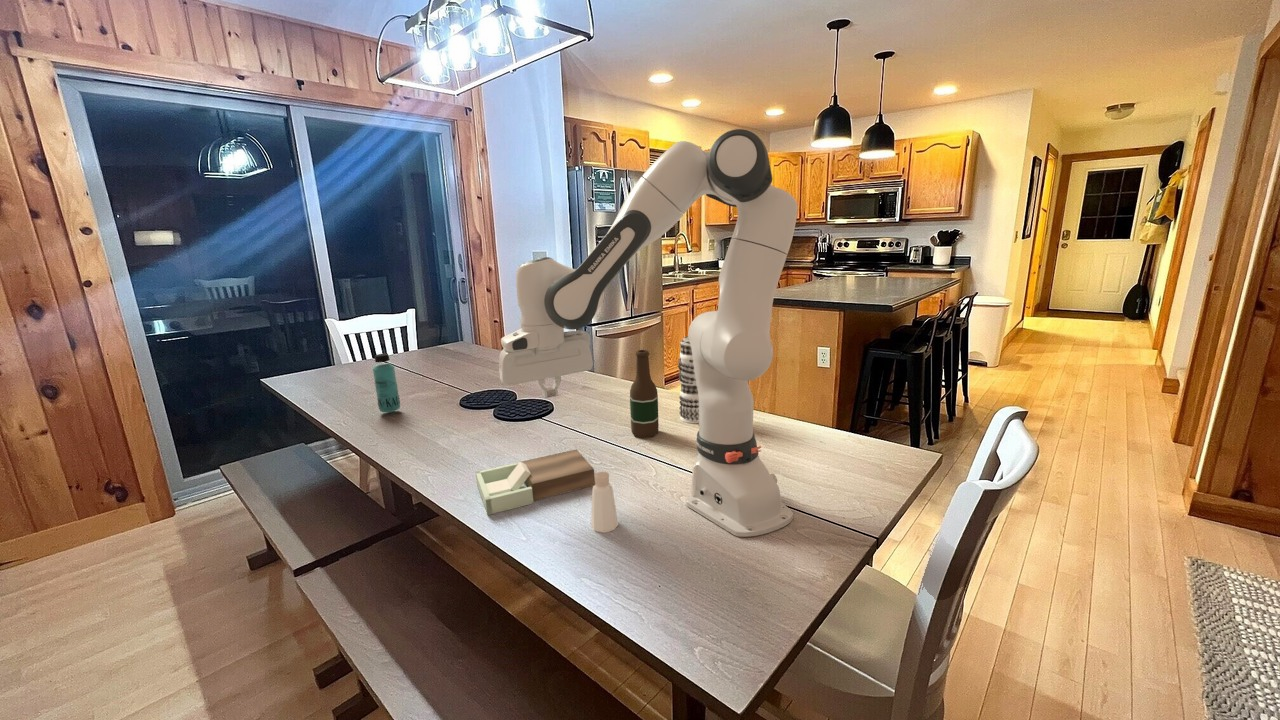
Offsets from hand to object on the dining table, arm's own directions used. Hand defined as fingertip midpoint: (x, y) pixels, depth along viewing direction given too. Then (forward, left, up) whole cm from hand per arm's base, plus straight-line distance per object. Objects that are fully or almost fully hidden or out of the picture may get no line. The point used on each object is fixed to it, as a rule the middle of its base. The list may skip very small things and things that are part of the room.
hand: (550, 396), depth 112 cm
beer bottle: (+15, -30, -21) cm, 40 cm away
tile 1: (+1, +13, -19) cm, 23 cm away
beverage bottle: (+72, +35, -21) cm, 83 cm away
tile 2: (0, +8, -18) cm, 20 cm away
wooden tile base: (0, 0, -21) cm, 21 cm away
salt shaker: (-22, -3, -21) cm, 30 cm away
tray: (0, +12, -21) cm, 24 cm away
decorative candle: (+18, -48, -21) cm, 56 cm away
